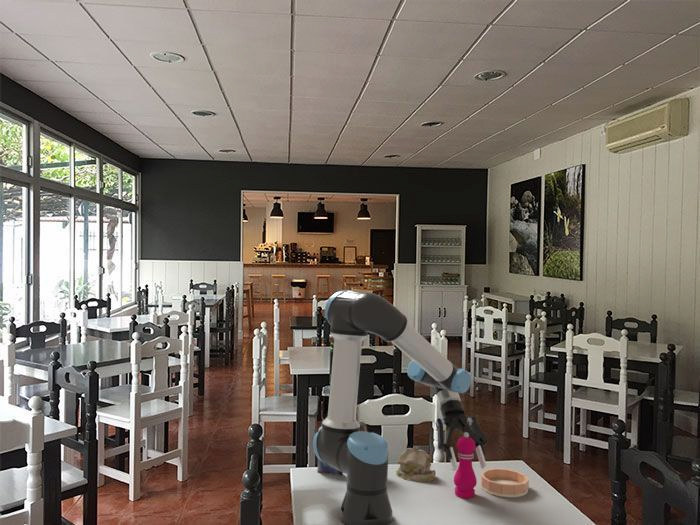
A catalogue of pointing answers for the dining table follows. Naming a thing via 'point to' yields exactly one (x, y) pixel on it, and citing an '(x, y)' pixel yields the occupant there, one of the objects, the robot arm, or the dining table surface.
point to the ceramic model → (415, 465)
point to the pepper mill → (465, 468)
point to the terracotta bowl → (504, 482)
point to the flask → (327, 469)
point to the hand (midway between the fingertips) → (469, 467)
